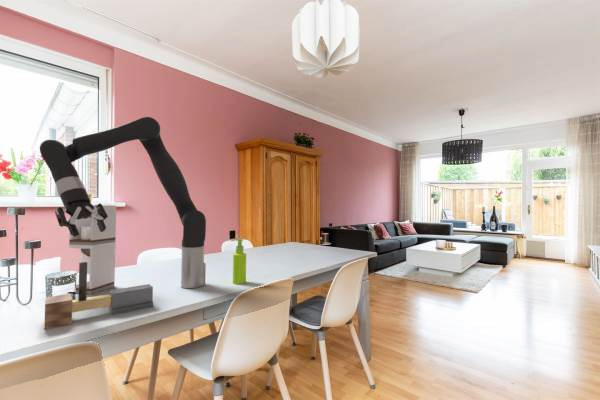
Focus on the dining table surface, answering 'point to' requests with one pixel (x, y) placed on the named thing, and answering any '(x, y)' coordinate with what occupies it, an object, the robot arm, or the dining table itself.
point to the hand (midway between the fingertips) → (90, 233)
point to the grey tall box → (97, 250)
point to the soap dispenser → (239, 263)
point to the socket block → (58, 311)
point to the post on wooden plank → (82, 301)
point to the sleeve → (131, 299)
